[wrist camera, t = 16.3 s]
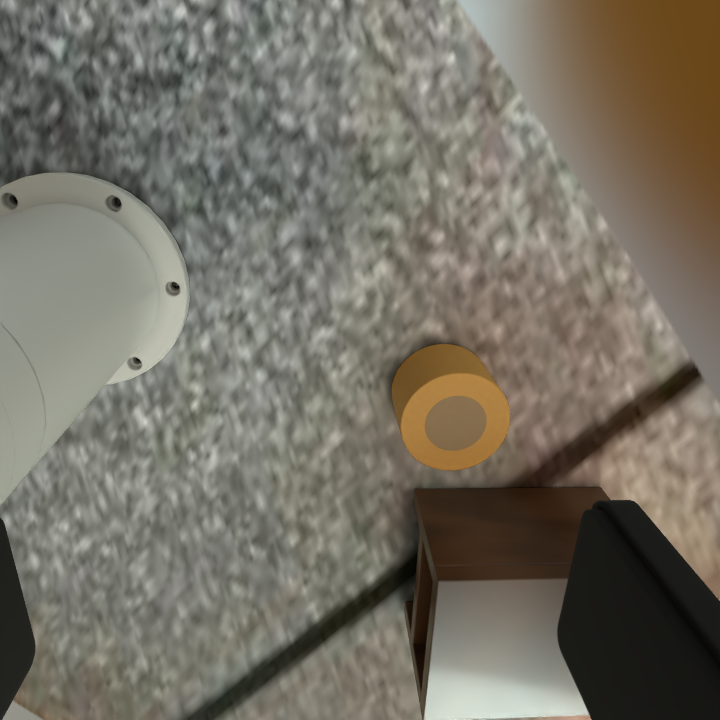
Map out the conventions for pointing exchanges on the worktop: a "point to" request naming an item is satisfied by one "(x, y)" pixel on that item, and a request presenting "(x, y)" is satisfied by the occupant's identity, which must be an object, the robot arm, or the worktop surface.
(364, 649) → the worktop surface
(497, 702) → the brown square pedestal
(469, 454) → the tape roll
